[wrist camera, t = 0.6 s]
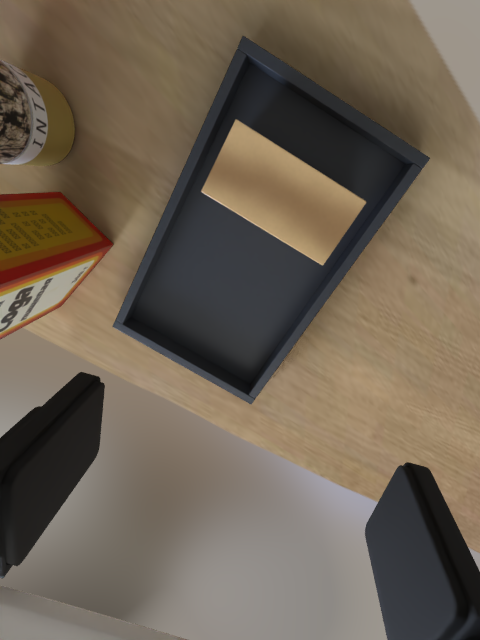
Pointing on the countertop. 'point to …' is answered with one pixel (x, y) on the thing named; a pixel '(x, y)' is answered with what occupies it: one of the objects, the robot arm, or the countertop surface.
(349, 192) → the wooden block
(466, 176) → the countertop surface
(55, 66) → the countertop surface
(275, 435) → the countertop surface
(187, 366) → the tray
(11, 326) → the baking soda box
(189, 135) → the countertop surface
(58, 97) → the paper tube
